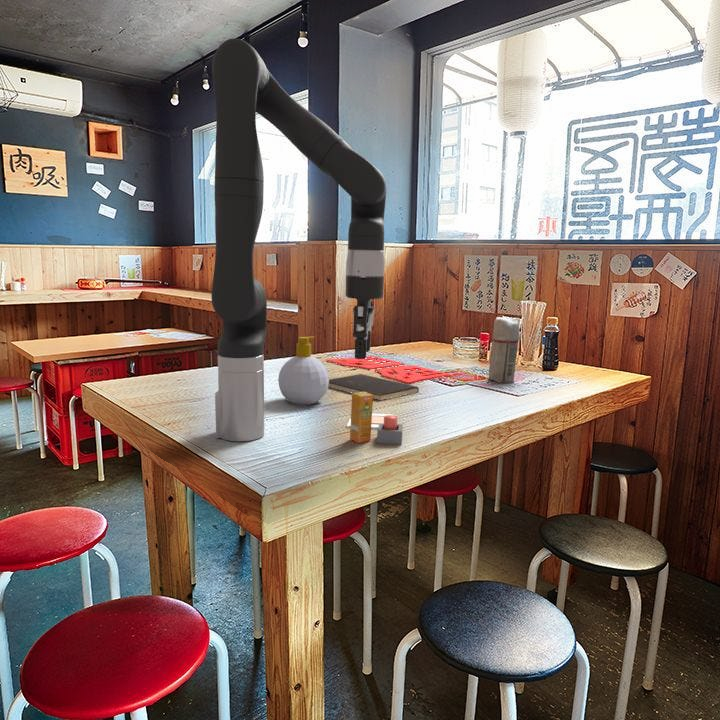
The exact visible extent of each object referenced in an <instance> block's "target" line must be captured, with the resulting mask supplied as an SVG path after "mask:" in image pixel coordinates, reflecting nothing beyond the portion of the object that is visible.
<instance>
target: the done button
mask: <svg viewBox="0 0 720 720" xmlns="http://www.w3.org/2000/svg"><path fill="white" fill-rule="evenodd" d="M397 424H398V416H397V415H395V414H392V415H386V416H384V429H386V430H397Z"/></svg>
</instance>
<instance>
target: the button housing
mask: <svg viewBox="0 0 720 720" xmlns="http://www.w3.org/2000/svg"><path fill="white" fill-rule="evenodd" d="M403 427H404V425H403V423H402V424H400V423H399V424H398V423H397V430H386V429H384V424H383V423H379V426H378V429H376V430H377V433H376V434H377V435H376V436H377V437H376V440H377V441H376V444H379V443H380V444H383V445H397V444H403V433H404V432H403V429H404V428H403ZM380 444H379V445H380Z"/></svg>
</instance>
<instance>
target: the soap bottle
mask: <svg viewBox="0 0 720 720" xmlns="http://www.w3.org/2000/svg"><path fill="white" fill-rule="evenodd" d="M311 339H312V340H313V339H315V336H299V337H298V343H296V349H295V350H296V351H295V352H296V355H295V356H294V357H293V356H292V357H291V358H289V359H288V360H287V361H286V362H285V363H284V364H283V365H282V367H281V368H280V370H279V373H278V379H277V381H278V387H279V388H278V389H279V390H280V392H281V395H282V396H283V397H284V398H285V400H286V401H288V402H289V403H290V404H293V405H296V406H310V405H314V404H316V403H317V402H319V401H320V400H321V399H322V398H323V397H324V396H325V395H326V393H327V391H328V389H329V387H328V384H329V379H330V378H329V373H328V370H327V368H326V367H325V365H324V364H323V363H322V362H321V361H320V360H319V359H318V358H316V357H314V356H312V343H310V341H309V340H311Z"/></svg>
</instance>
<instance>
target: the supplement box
mask: <svg viewBox="0 0 720 720" xmlns="http://www.w3.org/2000/svg"><path fill="white" fill-rule="evenodd" d="M373 402H374V399H373V395H372V394H370V393H367V392H358V393H351V408H350V417H351V427H349V429H350V432H349V439H350V441H351V440H352V441H353V442H355V443H358V444H361V443H365V442H369V441H370V442H371V436H372V429H371V423H372V414H373Z"/></svg>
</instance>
